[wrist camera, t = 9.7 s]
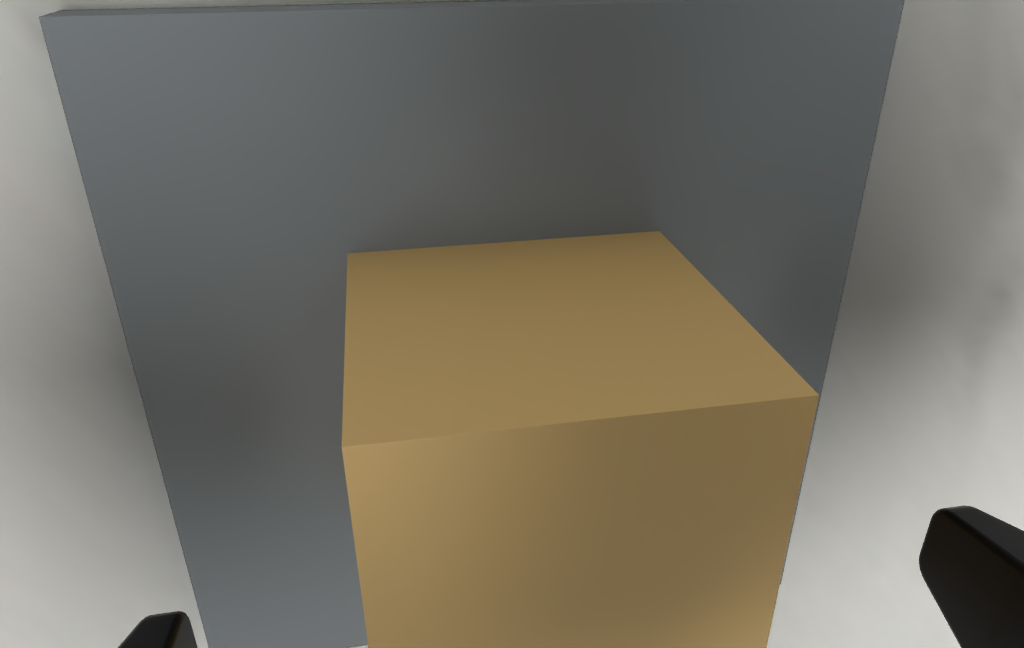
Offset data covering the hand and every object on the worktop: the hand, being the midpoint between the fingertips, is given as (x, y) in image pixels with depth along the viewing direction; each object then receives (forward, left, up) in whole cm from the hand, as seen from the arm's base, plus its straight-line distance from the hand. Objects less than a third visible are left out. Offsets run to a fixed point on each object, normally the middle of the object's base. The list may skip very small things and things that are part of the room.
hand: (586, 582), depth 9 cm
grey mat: (0, 0, -6) cm, 6 cm away
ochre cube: (0, 0, -5) cm, 5 cm away
